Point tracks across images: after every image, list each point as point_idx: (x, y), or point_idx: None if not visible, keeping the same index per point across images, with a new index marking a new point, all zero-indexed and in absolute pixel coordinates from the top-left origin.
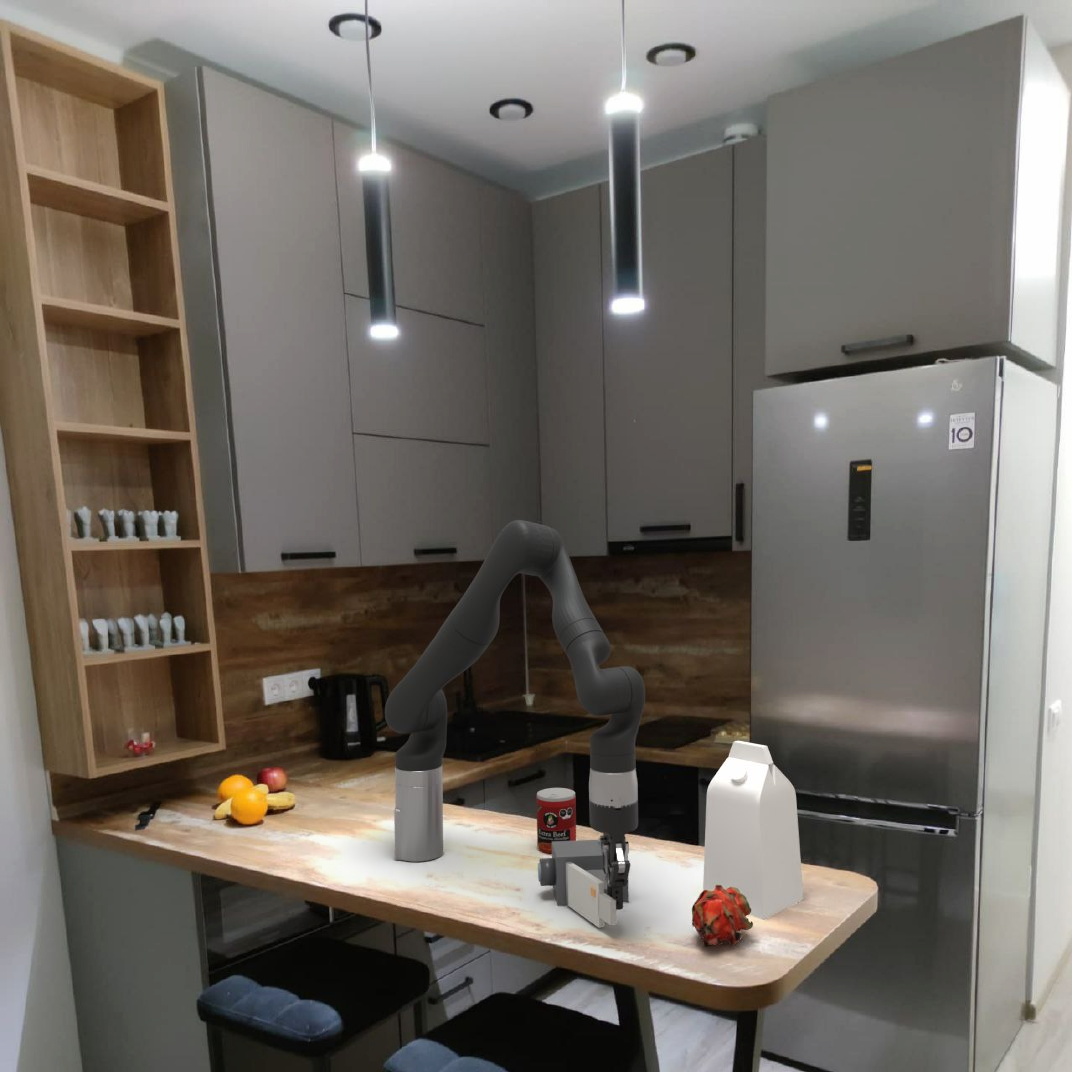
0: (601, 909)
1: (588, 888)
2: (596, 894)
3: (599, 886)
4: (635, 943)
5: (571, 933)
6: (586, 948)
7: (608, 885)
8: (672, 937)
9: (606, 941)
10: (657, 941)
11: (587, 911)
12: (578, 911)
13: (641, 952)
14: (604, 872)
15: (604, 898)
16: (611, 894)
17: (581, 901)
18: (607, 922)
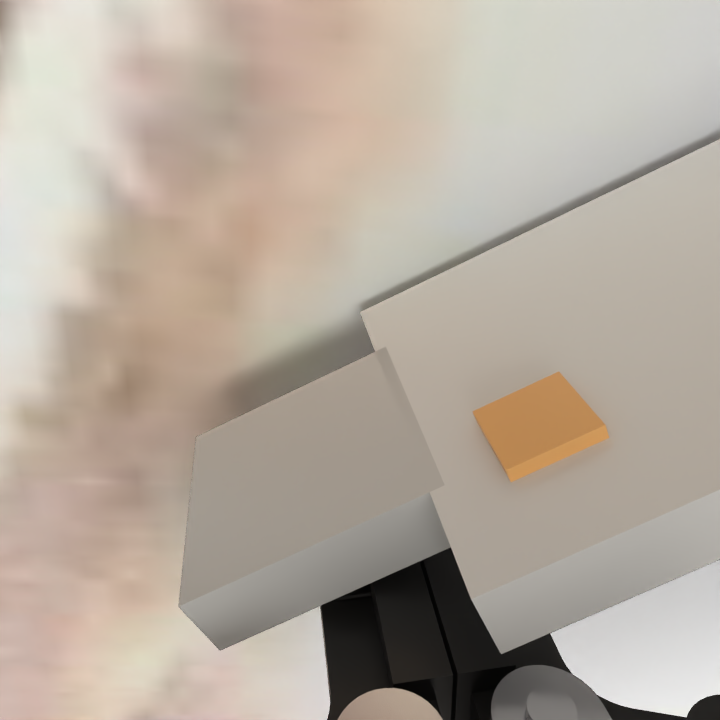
0: (344, 421)
1: (656, 376)
2: (469, 454)
3: (466, 571)
4: (149, 515)
5: (331, 57)
6: (15, 175)
7: (364, 709)
8: (242, 674)
9: (171, 343)
10: (186, 616)
11: (554, 254)
12: (681, 164)
13: (11, 542)
14: (712, 716)
15: (298, 544)
16: (374, 616)
17: (693, 221)
18: (244, 417)
